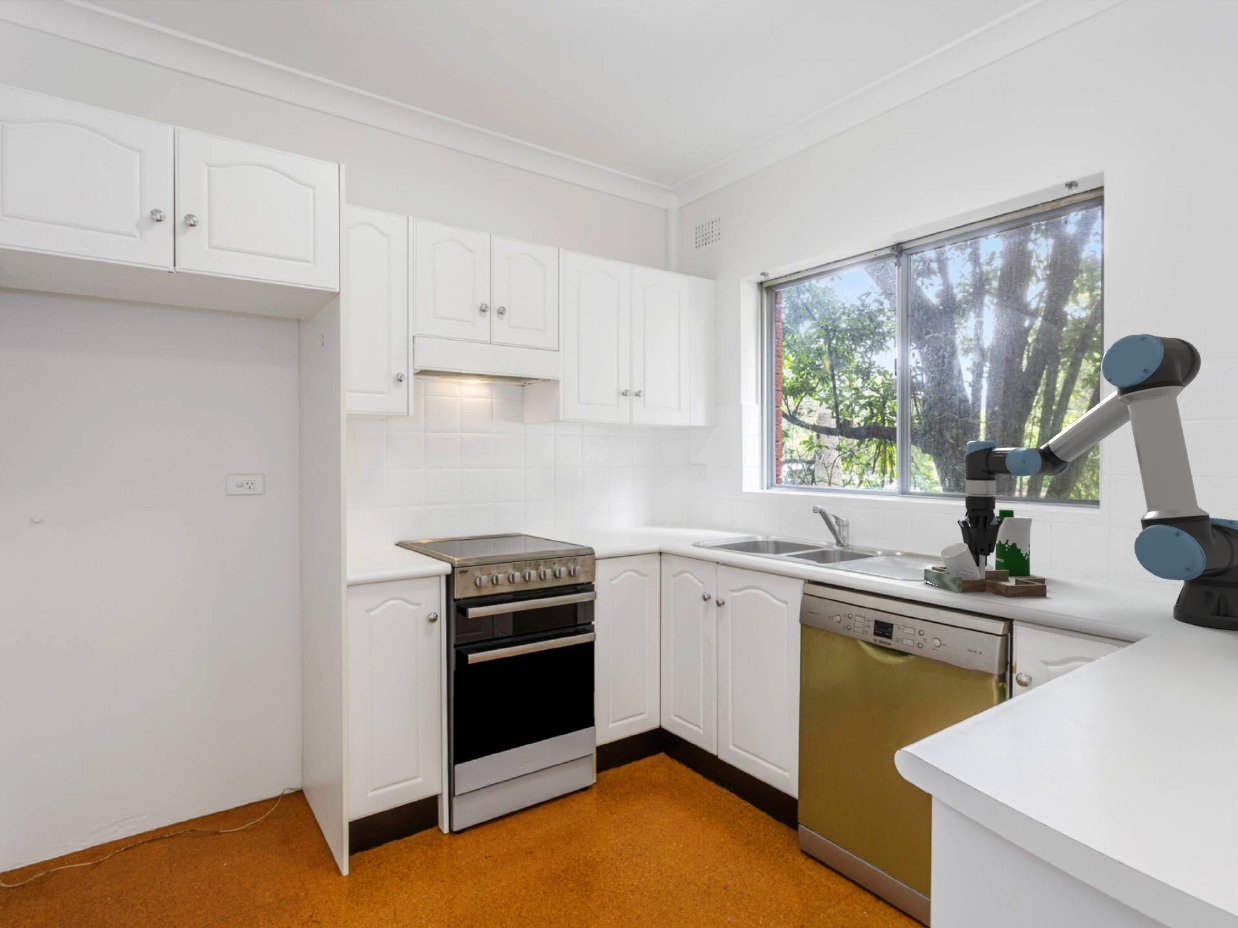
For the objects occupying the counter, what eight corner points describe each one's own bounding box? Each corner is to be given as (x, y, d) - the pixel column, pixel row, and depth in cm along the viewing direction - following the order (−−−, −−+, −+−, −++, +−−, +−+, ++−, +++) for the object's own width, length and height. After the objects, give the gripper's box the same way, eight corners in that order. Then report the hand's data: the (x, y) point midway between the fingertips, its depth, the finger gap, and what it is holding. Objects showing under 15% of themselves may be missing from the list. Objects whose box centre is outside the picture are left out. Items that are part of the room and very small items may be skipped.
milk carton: (990, 571, 215) (991, 509, 215) (1019, 571, 215) (1019, 509, 215) (1005, 576, 207) (1006, 511, 206) (1035, 576, 206) (1036, 511, 206)
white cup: (974, 570, 194) (959, 540, 193) (988, 577, 186) (972, 546, 185) (949, 582, 194) (934, 552, 194) (962, 590, 187) (946, 559, 186)
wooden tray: (1070, 595, 178) (1070, 580, 178) (979, 598, 173) (979, 583, 173) (985, 574, 208) (986, 562, 208) (906, 577, 203) (907, 564, 203)
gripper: (990, 494, 195) (989, 574, 196) (951, 494, 193) (950, 576, 193) (1010, 495, 188) (1009, 579, 188) (969, 496, 185) (968, 581, 186)
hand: (979, 577), depth 191 cm, fingers closed
